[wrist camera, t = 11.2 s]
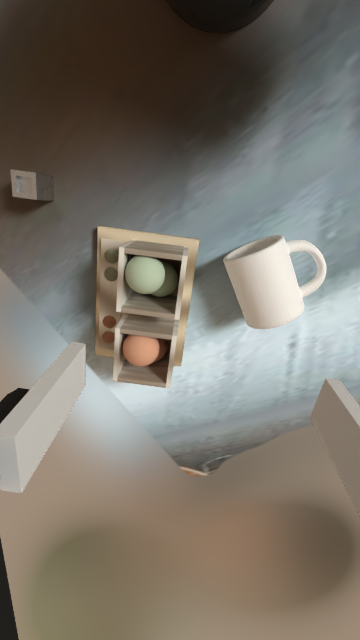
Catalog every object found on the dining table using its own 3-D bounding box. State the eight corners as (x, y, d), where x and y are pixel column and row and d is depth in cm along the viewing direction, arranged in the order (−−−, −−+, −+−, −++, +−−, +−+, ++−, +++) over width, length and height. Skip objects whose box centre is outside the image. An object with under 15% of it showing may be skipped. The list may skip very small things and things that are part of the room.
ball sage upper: (141, 257, 38) (120, 247, 34) (174, 260, 36) (157, 251, 32) (135, 293, 38) (113, 288, 34) (167, 298, 36) (150, 294, 32)
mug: (242, 315, 45) (252, 336, 37) (219, 255, 42) (225, 265, 34) (320, 285, 43) (347, 302, 35) (302, 220, 40) (328, 223, 32)
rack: (100, 225, 41) (75, 231, 32) (199, 239, 41) (200, 247, 32) (97, 351, 48) (76, 383, 40) (181, 362, 48) (178, 396, 40)
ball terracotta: (136, 334, 42) (123, 322, 38) (167, 340, 41) (157, 327, 37) (126, 366, 41) (111, 356, 36) (158, 373, 39) (146, 364, 35)
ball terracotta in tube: (138, 322, 44) (132, 340, 40) (169, 326, 44) (167, 344, 40) (136, 347, 47) (131, 367, 42) (166, 351, 47) (164, 371, 43)
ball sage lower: (145, 255, 41) (143, 264, 36) (179, 259, 41) (181, 268, 37) (142, 288, 43) (140, 300, 38) (175, 291, 43) (176, 303, 39)
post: (30, 173, 39) (10, 169, 35) (52, 176, 39) (35, 172, 35) (32, 197, 40) (12, 196, 36) (53, 200, 40) (37, 199, 36)
